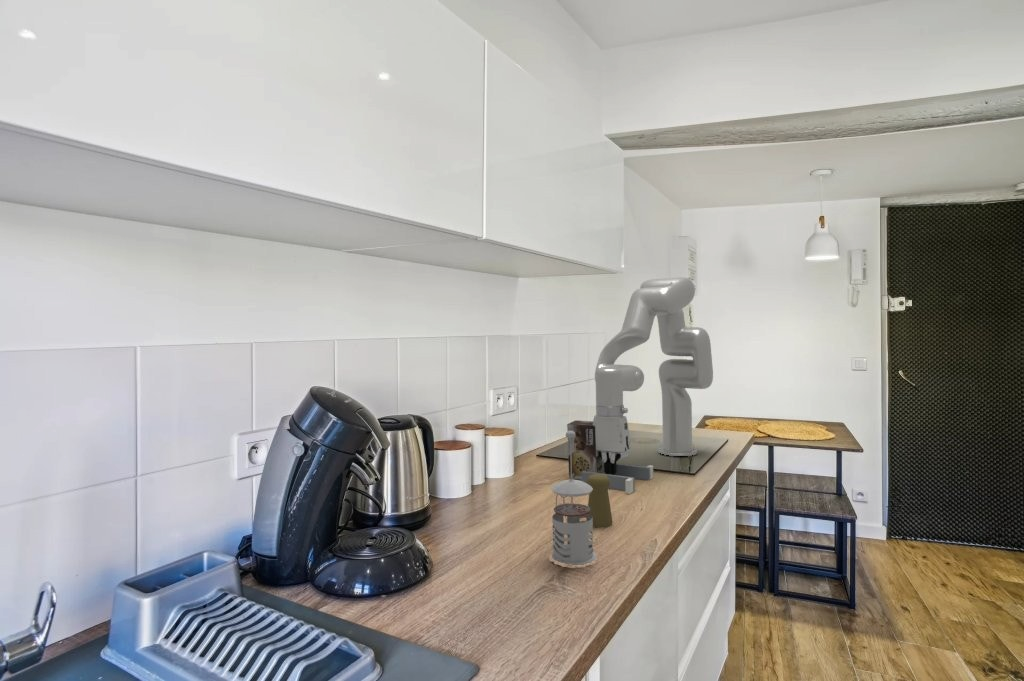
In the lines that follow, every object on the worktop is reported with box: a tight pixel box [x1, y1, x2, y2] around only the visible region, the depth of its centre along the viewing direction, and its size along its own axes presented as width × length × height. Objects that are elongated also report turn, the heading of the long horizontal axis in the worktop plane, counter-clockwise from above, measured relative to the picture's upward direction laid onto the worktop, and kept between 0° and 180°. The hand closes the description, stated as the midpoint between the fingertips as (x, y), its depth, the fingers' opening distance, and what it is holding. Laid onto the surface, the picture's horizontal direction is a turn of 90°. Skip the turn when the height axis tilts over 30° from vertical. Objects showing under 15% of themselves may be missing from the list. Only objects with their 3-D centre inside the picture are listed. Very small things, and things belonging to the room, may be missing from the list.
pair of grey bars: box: [581, 462, 654, 495], centre depth 170 cm, size 18×15×4 cm
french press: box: [550, 431, 597, 565], centre depth 118 cm, size 10×12×25 cm
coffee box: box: [566, 419, 605, 481], centre depth 175 cm, size 9×6×16 cm
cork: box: [585, 474, 614, 528], centre depth 137 cm, size 6×6×11 cm
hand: (610, 475), depth 170 cm, fingers closed
